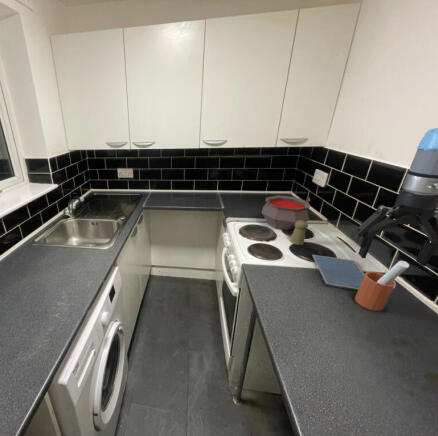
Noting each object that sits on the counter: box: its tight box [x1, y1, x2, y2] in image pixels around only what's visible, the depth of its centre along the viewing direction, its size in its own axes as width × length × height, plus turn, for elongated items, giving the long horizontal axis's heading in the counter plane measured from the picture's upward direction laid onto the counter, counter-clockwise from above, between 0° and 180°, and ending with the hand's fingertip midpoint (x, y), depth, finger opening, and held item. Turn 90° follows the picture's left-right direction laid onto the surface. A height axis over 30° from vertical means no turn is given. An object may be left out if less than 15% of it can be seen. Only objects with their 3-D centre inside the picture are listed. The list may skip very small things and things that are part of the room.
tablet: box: [311, 254, 365, 292], centre depth 89 cm, size 15×20×1 cm
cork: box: [289, 220, 309, 246], centre depth 110 cm, size 6×6×11 cm
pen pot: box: [354, 271, 397, 312], centre depth 73 cm, size 7×7×10 cm
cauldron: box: [261, 194, 311, 231], centre depth 126 cm, size 24×24×16 cm
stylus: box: [377, 260, 410, 285], centre depth 70 cm, size 2×2×20 cm
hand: (390, 259), depth 68 cm, fingers open, 13 cm apart
